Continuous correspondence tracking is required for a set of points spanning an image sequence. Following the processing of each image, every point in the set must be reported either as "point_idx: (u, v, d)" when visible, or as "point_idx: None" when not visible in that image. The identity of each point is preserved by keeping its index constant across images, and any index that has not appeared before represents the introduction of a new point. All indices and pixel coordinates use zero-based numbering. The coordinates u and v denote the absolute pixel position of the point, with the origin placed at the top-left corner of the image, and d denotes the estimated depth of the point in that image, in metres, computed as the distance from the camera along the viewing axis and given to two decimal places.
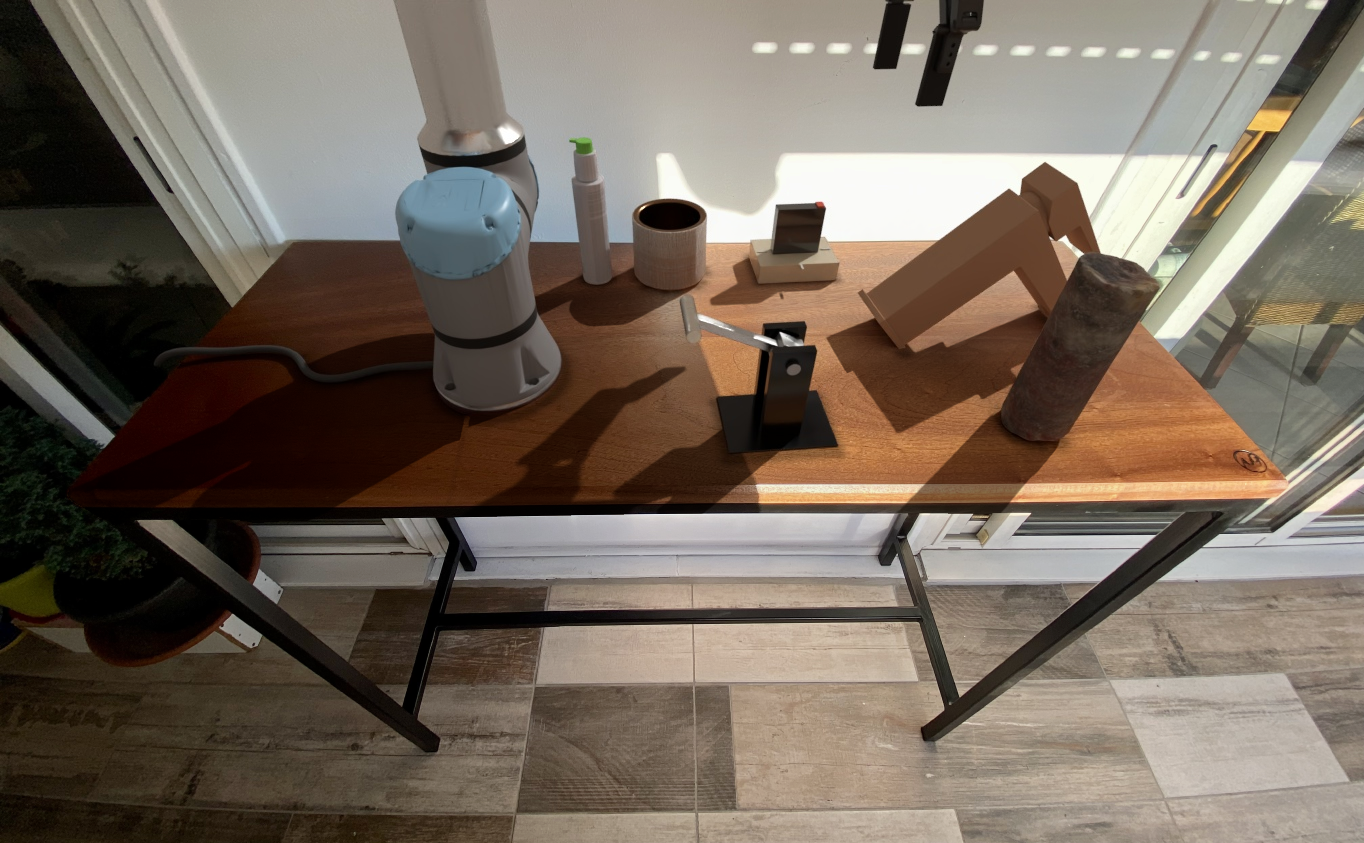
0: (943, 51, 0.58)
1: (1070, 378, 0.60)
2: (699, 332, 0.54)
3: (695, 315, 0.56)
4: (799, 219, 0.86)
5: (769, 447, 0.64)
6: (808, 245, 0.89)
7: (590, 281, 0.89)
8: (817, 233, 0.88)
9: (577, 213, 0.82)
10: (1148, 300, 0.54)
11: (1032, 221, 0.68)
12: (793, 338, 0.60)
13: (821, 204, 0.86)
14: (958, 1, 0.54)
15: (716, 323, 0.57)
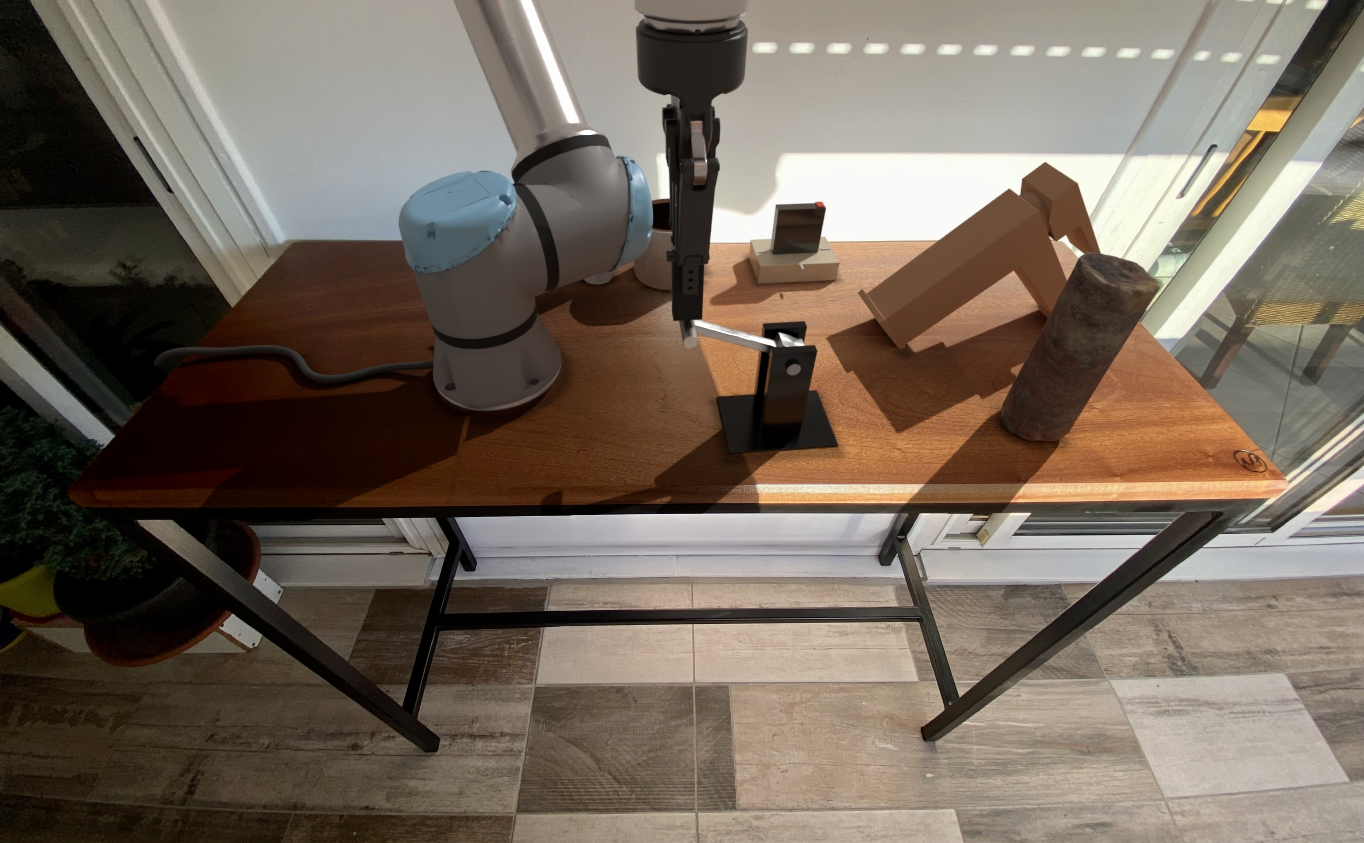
0: (682, 276, 0.51)
1: (1070, 378, 0.60)
2: (696, 338, 0.54)
3: (692, 321, 0.56)
4: (799, 219, 0.86)
5: (769, 447, 0.64)
6: (808, 245, 0.89)
7: (590, 281, 0.89)
8: (817, 233, 0.88)
9: None
10: (1148, 300, 0.54)
11: (1032, 221, 0.68)
12: (792, 338, 0.60)
13: (821, 204, 0.86)
14: (679, 247, 0.47)
15: (713, 328, 0.57)
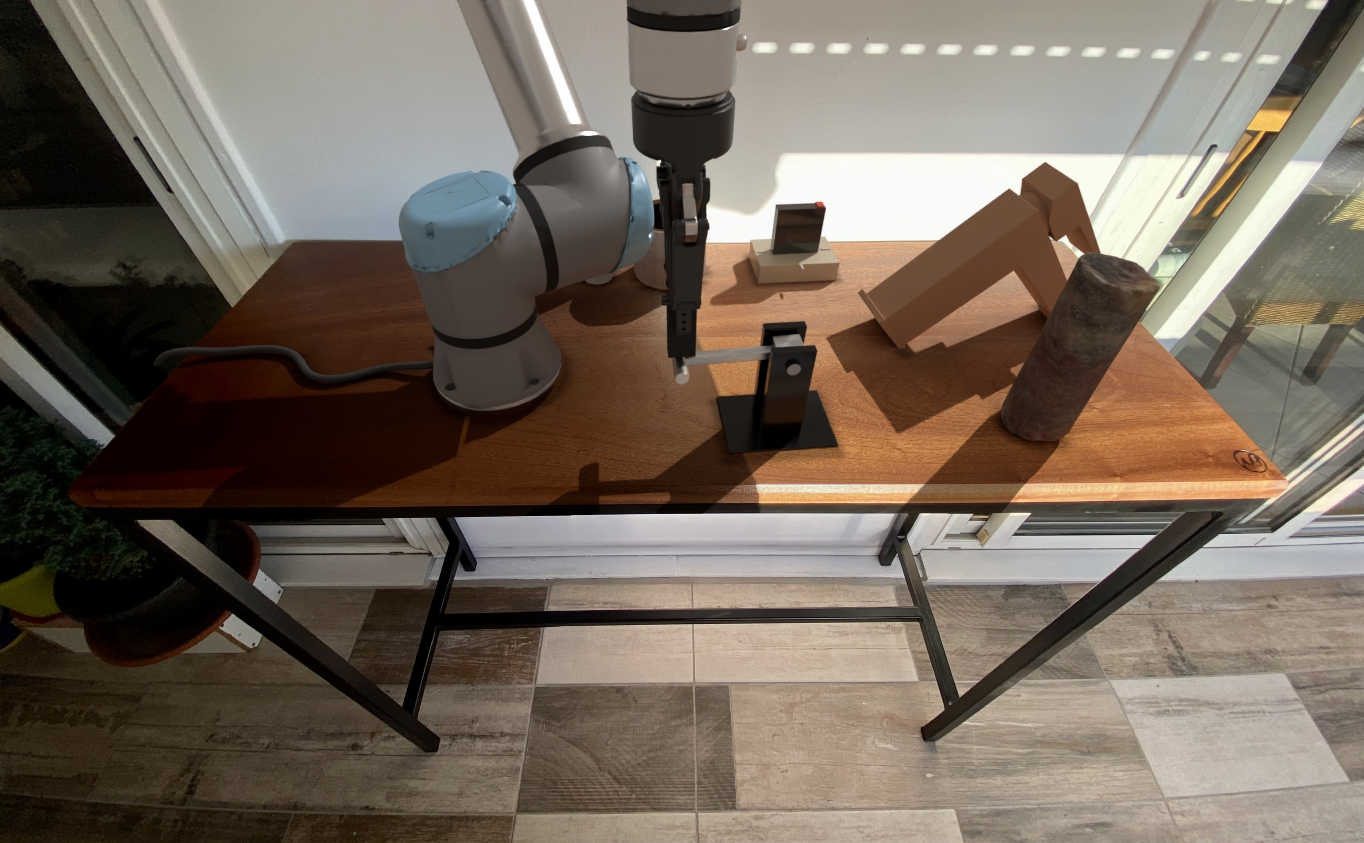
0: (676, 318, 0.54)
1: (1070, 378, 0.60)
2: (684, 373, 0.57)
3: None
4: (799, 219, 0.86)
5: (769, 447, 0.64)
6: (808, 245, 0.89)
7: (590, 281, 0.89)
8: (817, 233, 0.88)
9: None
10: (1148, 300, 0.54)
11: (1032, 221, 0.68)
12: (788, 337, 0.60)
13: (821, 204, 0.86)
14: (672, 294, 0.50)
15: (704, 355, 0.59)
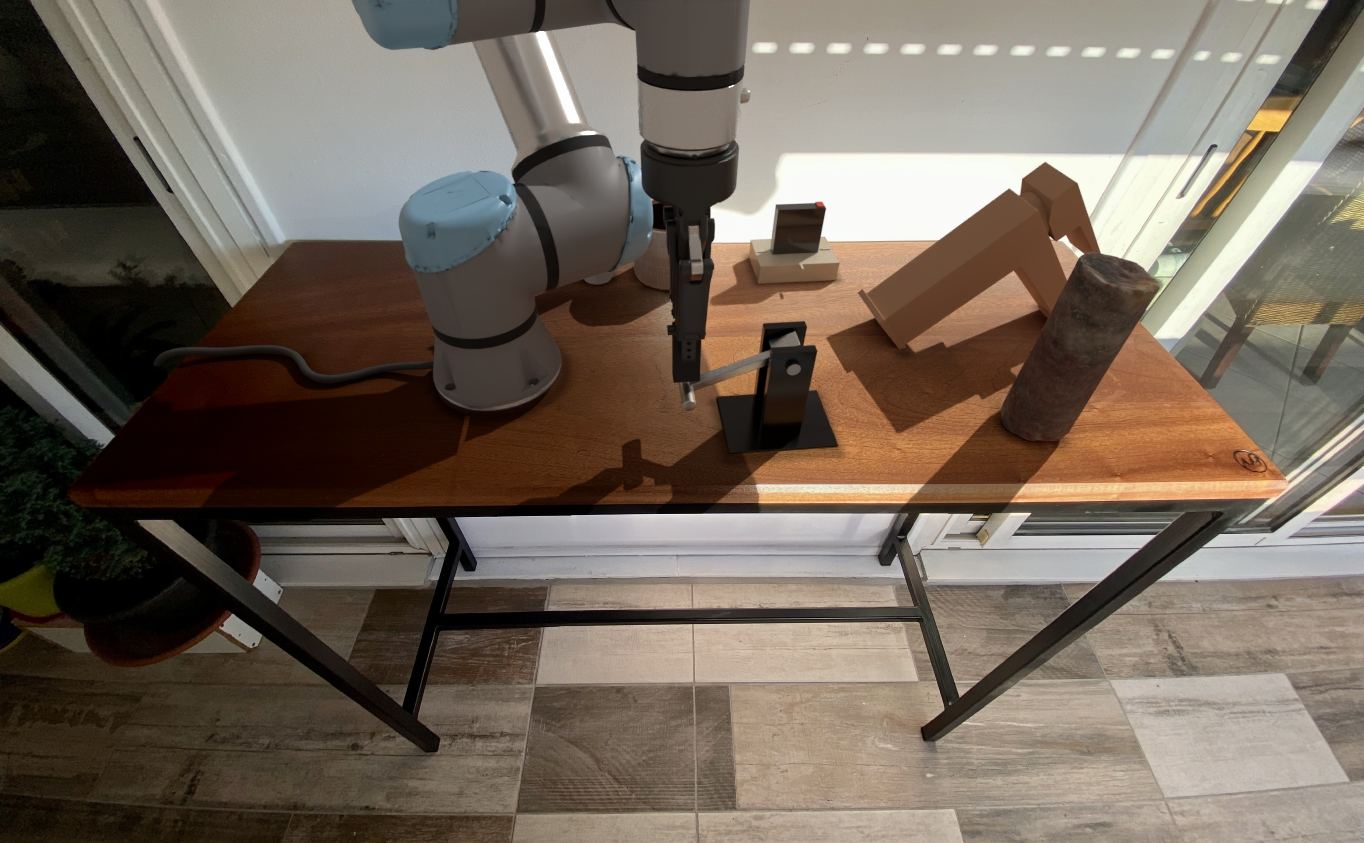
0: (681, 347, 0.56)
1: (1070, 378, 0.60)
2: (689, 400, 0.60)
3: (685, 384, 0.62)
4: (799, 219, 0.86)
5: (769, 447, 0.64)
6: (808, 245, 0.89)
7: (590, 281, 0.89)
8: (817, 233, 0.88)
9: None
10: (1148, 300, 0.54)
11: (1032, 221, 0.68)
12: (784, 337, 0.60)
13: (821, 204, 0.86)
14: (678, 327, 0.52)
15: (707, 377, 0.61)
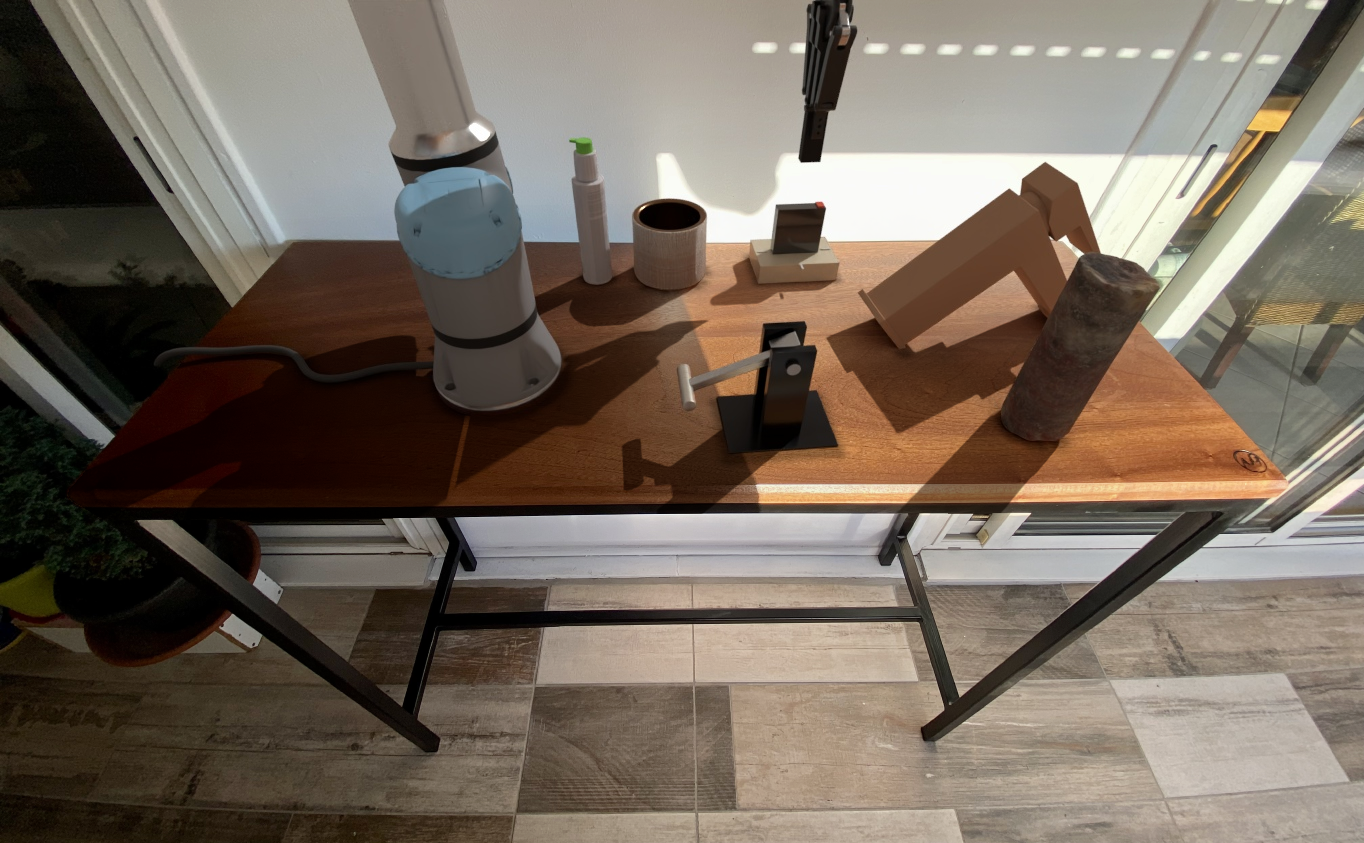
0: (813, 123, 0.76)
1: (1070, 378, 0.60)
2: (689, 401, 0.60)
3: (685, 384, 0.62)
4: (799, 219, 0.86)
5: (769, 447, 0.64)
6: (808, 245, 0.89)
7: (590, 281, 0.89)
8: (817, 233, 0.88)
9: (577, 213, 0.82)
10: (1148, 300, 0.54)
11: (1032, 221, 0.68)
12: (784, 337, 0.60)
13: (821, 204, 0.86)
14: (819, 95, 0.71)
15: (707, 377, 0.61)
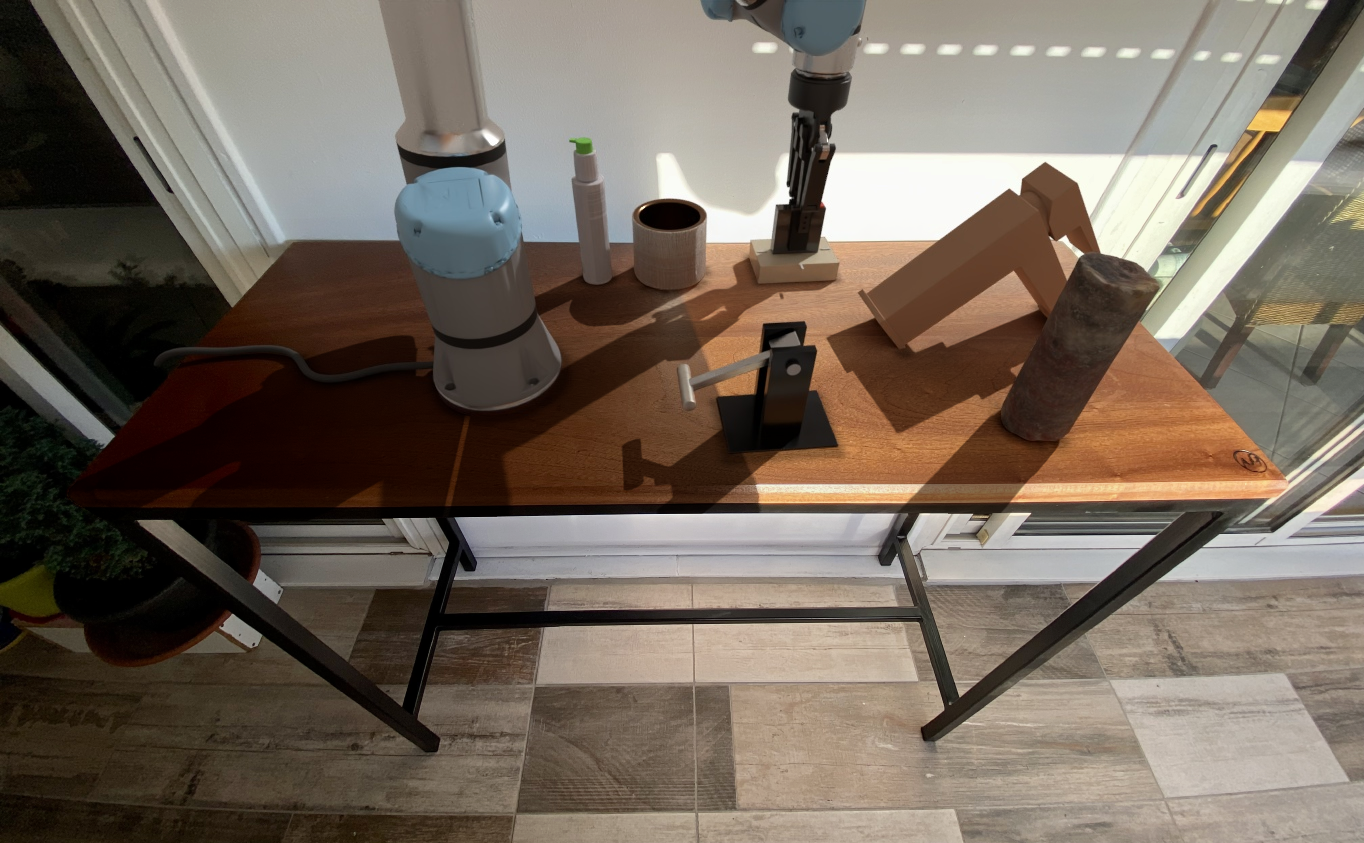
0: (799, 220, 0.84)
1: (1070, 378, 0.60)
2: (689, 401, 0.60)
3: (685, 384, 0.62)
4: None
5: (769, 447, 0.64)
6: (808, 245, 0.89)
7: (590, 281, 0.89)
8: (817, 233, 0.88)
9: (577, 213, 0.82)
10: (1148, 300, 0.54)
11: (1032, 221, 0.68)
12: (784, 337, 0.60)
13: (821, 204, 0.86)
14: (804, 199, 0.80)
15: (707, 377, 0.61)
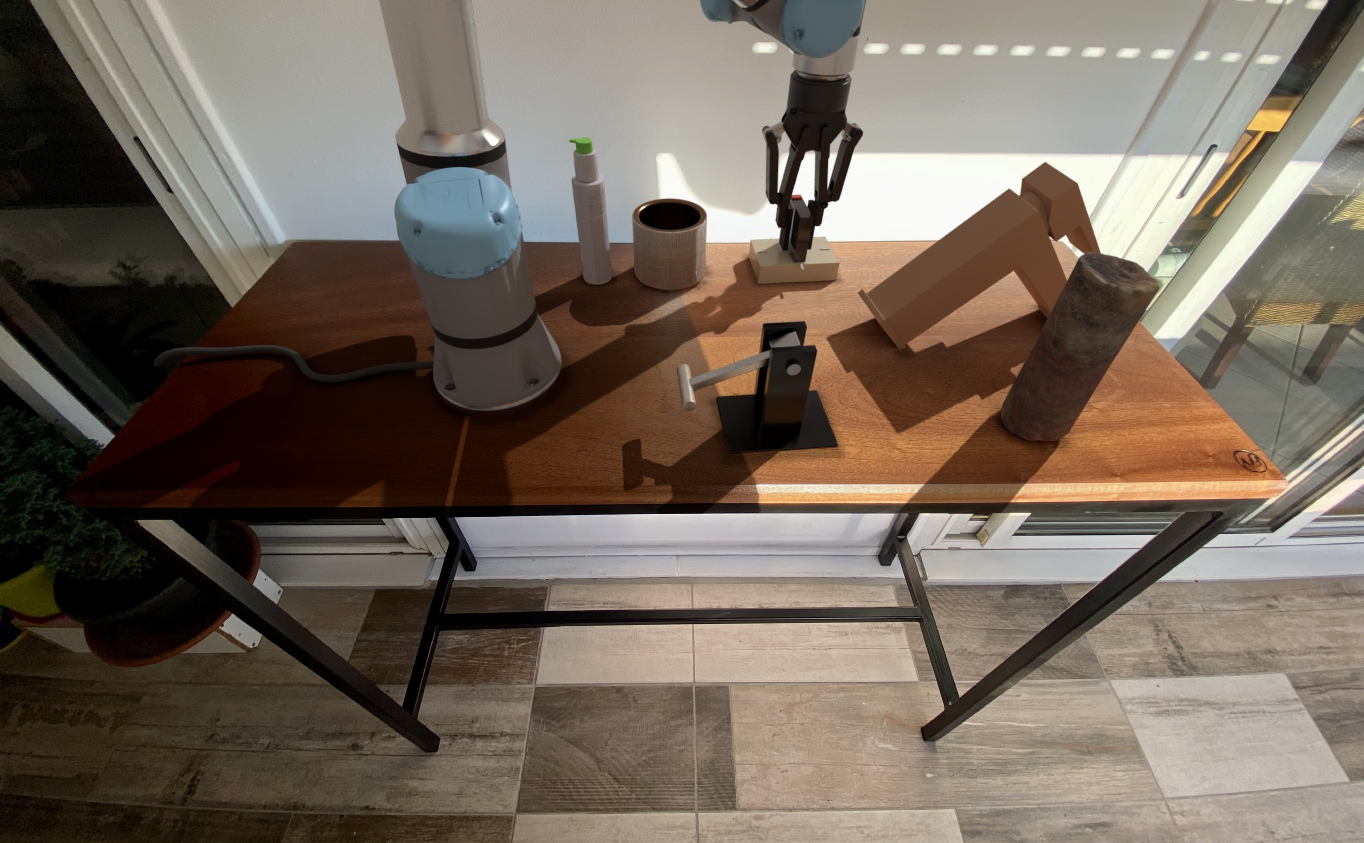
0: (822, 214, 0.86)
1: (1070, 378, 0.60)
2: (689, 401, 0.60)
3: (685, 384, 0.62)
4: None
5: (769, 447, 0.64)
6: None
7: (590, 281, 0.89)
8: None
9: (577, 213, 0.82)
10: (1148, 300, 0.54)
11: (1032, 221, 0.68)
12: (784, 337, 0.60)
13: (797, 195, 0.88)
14: (842, 186, 0.83)
15: (707, 377, 0.61)
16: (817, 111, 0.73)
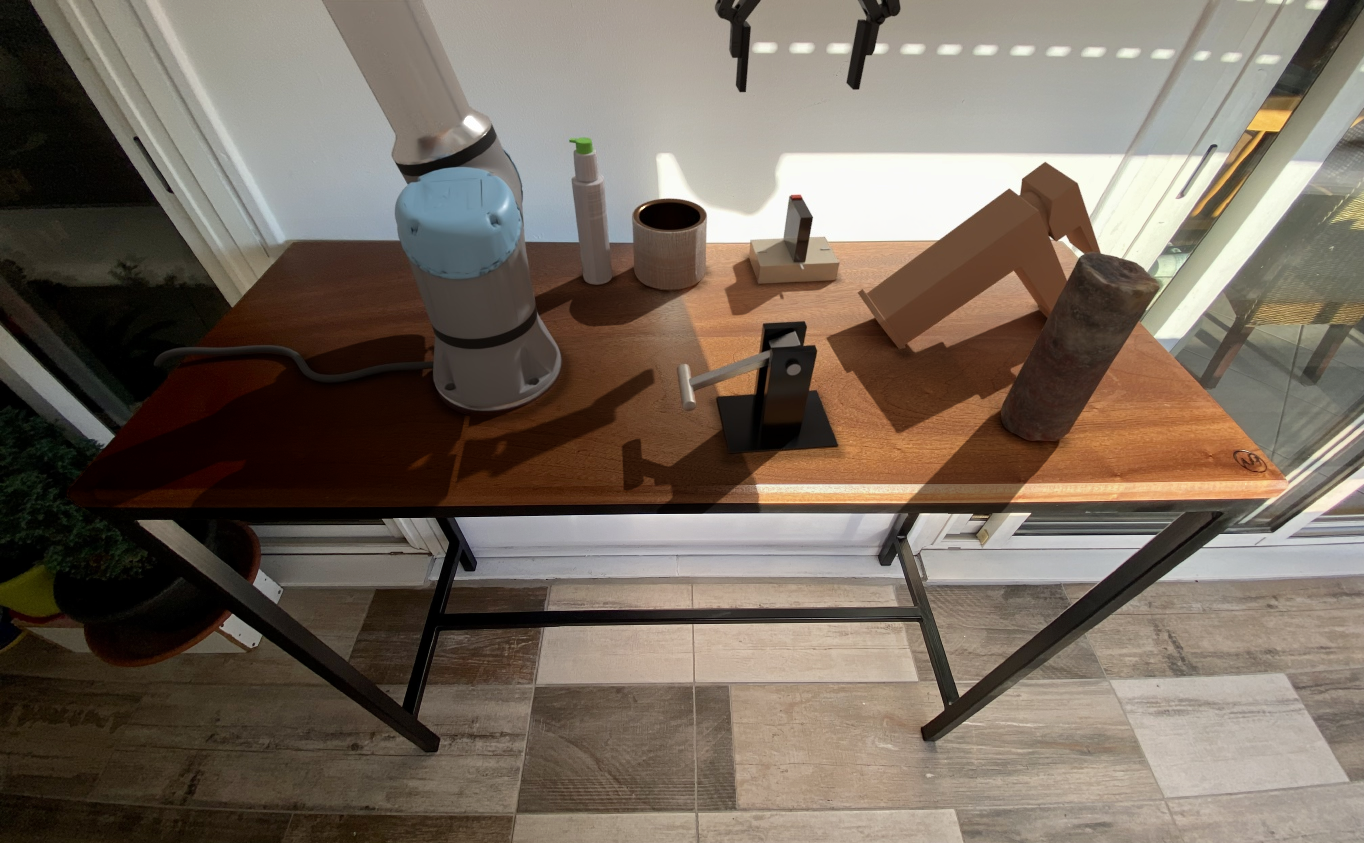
0: (875, 36, 0.67)
1: (1070, 378, 0.60)
2: (689, 401, 0.60)
3: (685, 384, 0.62)
4: None
5: (769, 447, 0.64)
6: None
7: (590, 281, 0.89)
8: None
9: (577, 213, 0.82)
10: (1148, 300, 0.54)
11: (1032, 221, 0.68)
12: (784, 337, 0.60)
13: (797, 195, 0.88)
14: None
15: (707, 377, 0.61)
16: None
